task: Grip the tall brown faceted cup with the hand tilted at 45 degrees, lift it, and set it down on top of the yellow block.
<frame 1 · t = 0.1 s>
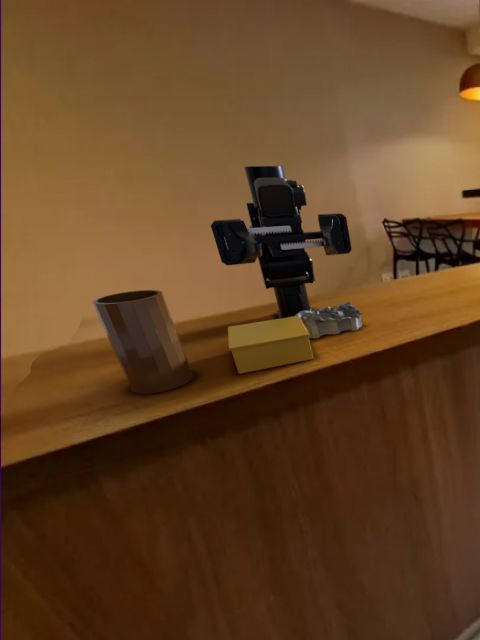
hand: (293, 244, 62), 17 cm above the countertop, tool horizontal, fingers open, 9 cm apart
yellow block: (273, 354, 69), on the countertop
brown faceted cup: (163, 382, 60), on the countertop
grey knobbed block: (330, 330, 80), on the countertop
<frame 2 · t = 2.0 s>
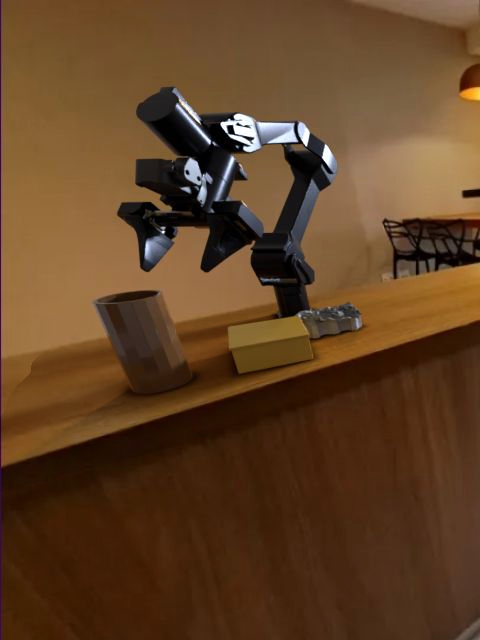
hand: (173, 270, 61), 14 cm above the countertop, tool tilted 45°, fingers open, 9 cm apart
nothing on the countertop moved.
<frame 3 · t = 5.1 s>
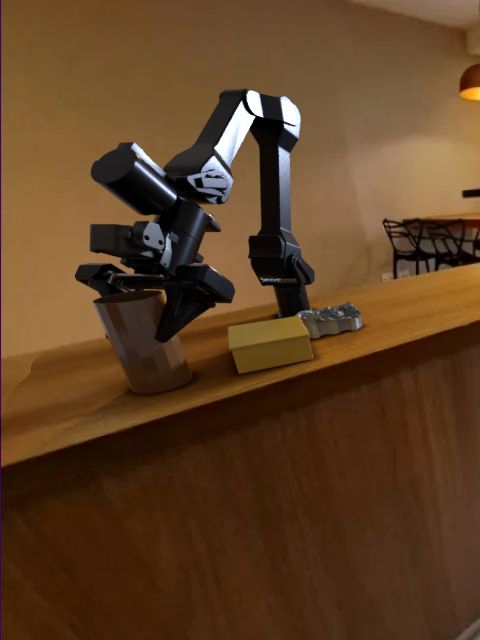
hand: (135, 340, 56), 7 cm above the countertop, tool tilted 45°, fingers closed on brown faceted cup, 7 cm apart
brown faceted cup: (163, 382, 60), on the countertop, touching gripper
everything else where it was.
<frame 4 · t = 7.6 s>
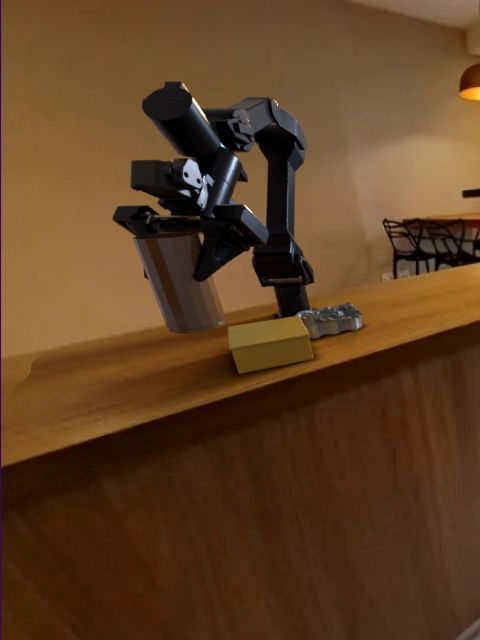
hand: (172, 280, 57), 13 cm above the countertop, tool tilted 45°, fingers closed on brown faceted cup, 7 cm apart
brown faceted cup: (198, 325, 61), point 7 cm above the countertop, touching gripper
everything else where it was.
when the fingers open (11 cm above the countertop, at t = 10.2 s): brown faceted cup stays where it is, resting on yellow block.
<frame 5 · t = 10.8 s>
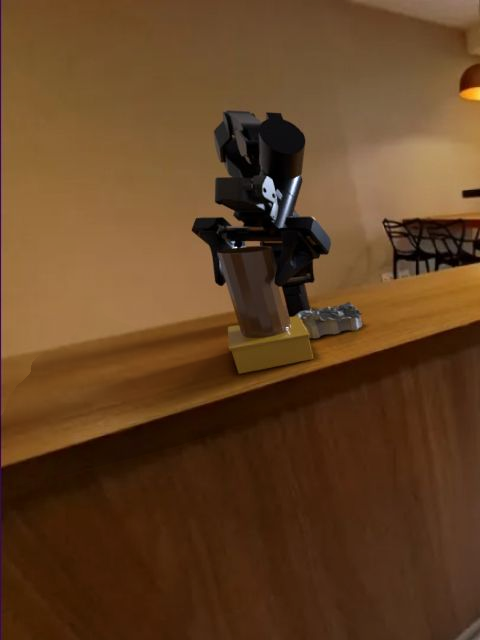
hand: (247, 284, 63), 11 cm above the countertop, tool tilted 45°, fingers open, 9 cm apart
brown faceted cup: (267, 330, 67), point 4 cm above the countertop, touching yellow block
everything else where it was.
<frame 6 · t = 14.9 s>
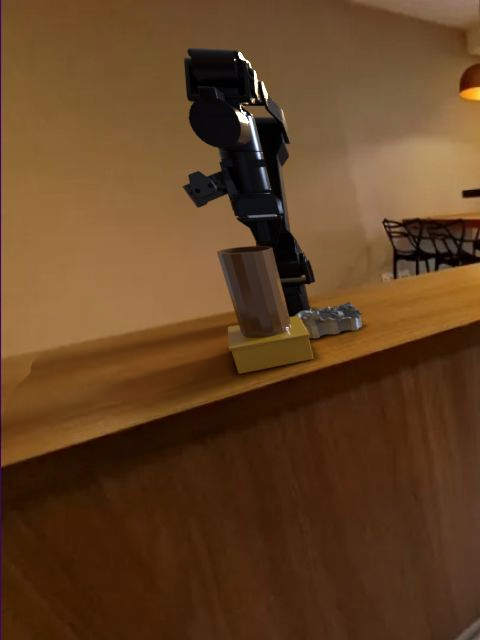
hand: (268, 258, 72), 13 cm above the countertop, tool pointing down, fingers open, 9 cm apart
nothing on the countertop moved.
at the end: brown faceted cup inside the target area on the yellow block (0.0 cm from its centre), point 4.0 cm above the yellow block's base; brown faceted cup tilted 0°; the gripper is holding nothing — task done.
